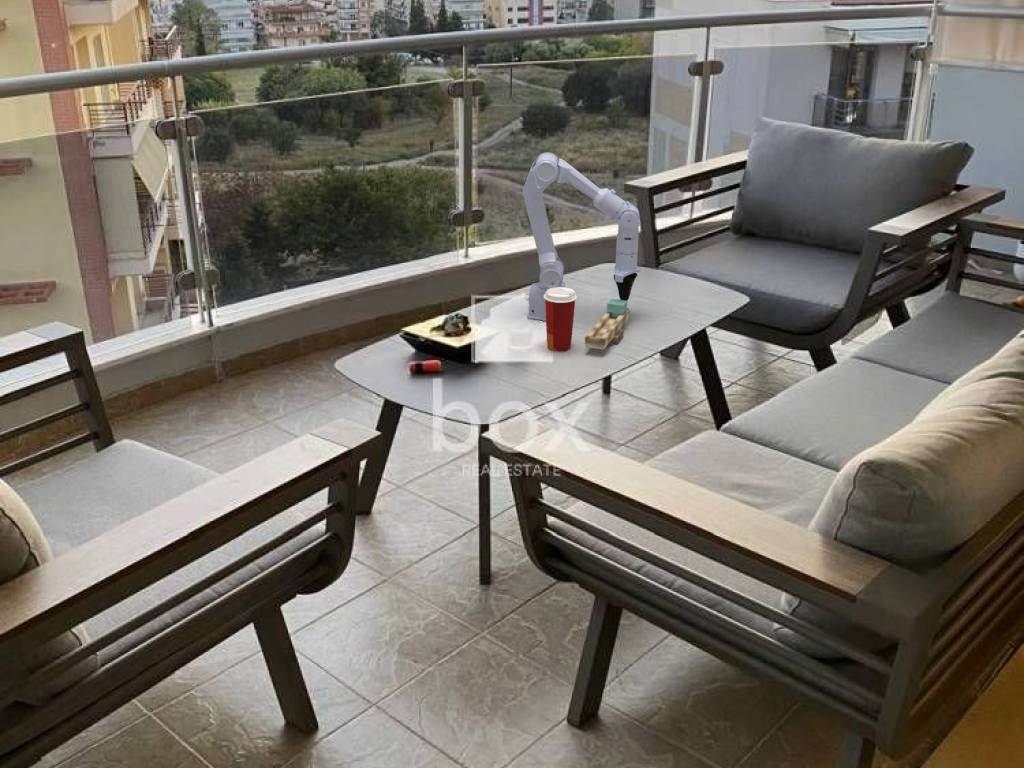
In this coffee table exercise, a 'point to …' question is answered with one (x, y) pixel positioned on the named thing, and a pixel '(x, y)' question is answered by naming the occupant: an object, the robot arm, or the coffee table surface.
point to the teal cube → (616, 307)
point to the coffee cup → (559, 317)
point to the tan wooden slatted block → (606, 331)
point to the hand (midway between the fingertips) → (624, 299)
